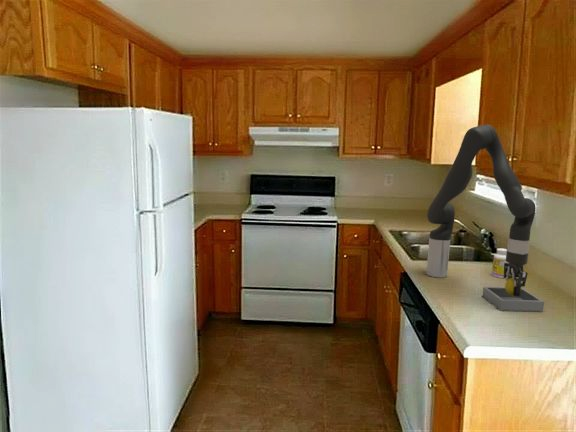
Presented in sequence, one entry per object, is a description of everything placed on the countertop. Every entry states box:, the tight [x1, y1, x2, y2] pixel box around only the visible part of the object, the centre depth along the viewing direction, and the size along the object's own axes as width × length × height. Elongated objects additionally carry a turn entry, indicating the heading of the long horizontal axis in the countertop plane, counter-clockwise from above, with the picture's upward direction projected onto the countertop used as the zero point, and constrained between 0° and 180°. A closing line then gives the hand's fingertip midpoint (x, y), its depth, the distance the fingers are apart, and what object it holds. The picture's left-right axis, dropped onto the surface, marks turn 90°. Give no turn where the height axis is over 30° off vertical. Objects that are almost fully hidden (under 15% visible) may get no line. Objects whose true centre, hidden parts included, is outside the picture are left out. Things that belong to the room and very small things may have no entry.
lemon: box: [504, 278, 521, 297], centre depth 187 cm, size 6×6×8 cm
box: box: [481, 286, 545, 313], centre depth 188 cm, size 16×16×4 cm
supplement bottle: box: [491, 247, 508, 279], centre depth 225 cm, size 7×7×13 cm
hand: (512, 292), depth 187 cm, fingers closed on lemon, 5 cm apart
